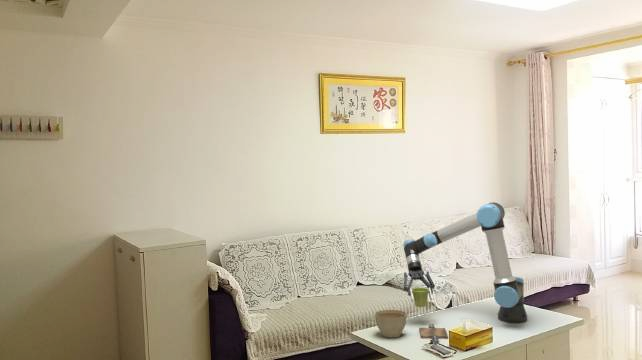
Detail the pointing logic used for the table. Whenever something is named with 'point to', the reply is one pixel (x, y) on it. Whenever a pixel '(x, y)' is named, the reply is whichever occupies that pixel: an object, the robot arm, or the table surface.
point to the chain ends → (434, 337)
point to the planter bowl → (391, 322)
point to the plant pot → (420, 296)
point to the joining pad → (433, 333)
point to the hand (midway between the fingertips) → (422, 300)
